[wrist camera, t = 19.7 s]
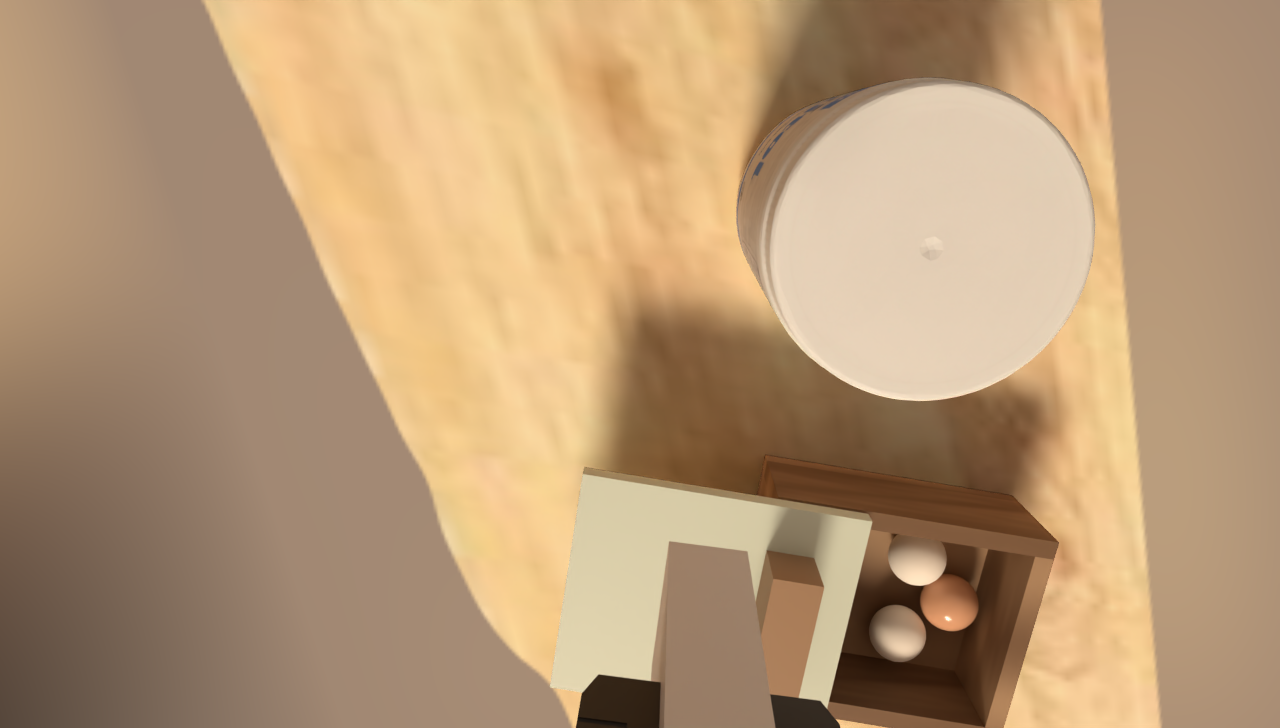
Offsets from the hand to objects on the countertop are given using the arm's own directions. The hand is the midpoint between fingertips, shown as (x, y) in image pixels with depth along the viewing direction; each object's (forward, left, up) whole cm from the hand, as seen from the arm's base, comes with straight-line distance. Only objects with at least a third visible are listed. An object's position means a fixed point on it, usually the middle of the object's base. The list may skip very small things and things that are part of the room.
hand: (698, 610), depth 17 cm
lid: (+10, +3, -19) cm, 22 cm away
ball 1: (+8, +12, -24) cm, 28 cm away
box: (+10, +11, -25) cm, 29 cm away
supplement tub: (-7, +6, -25) cm, 27 cm away
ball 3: (+10, +14, -24) cm, 30 cm away
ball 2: (+12, +12, -24) cm, 29 cm away
